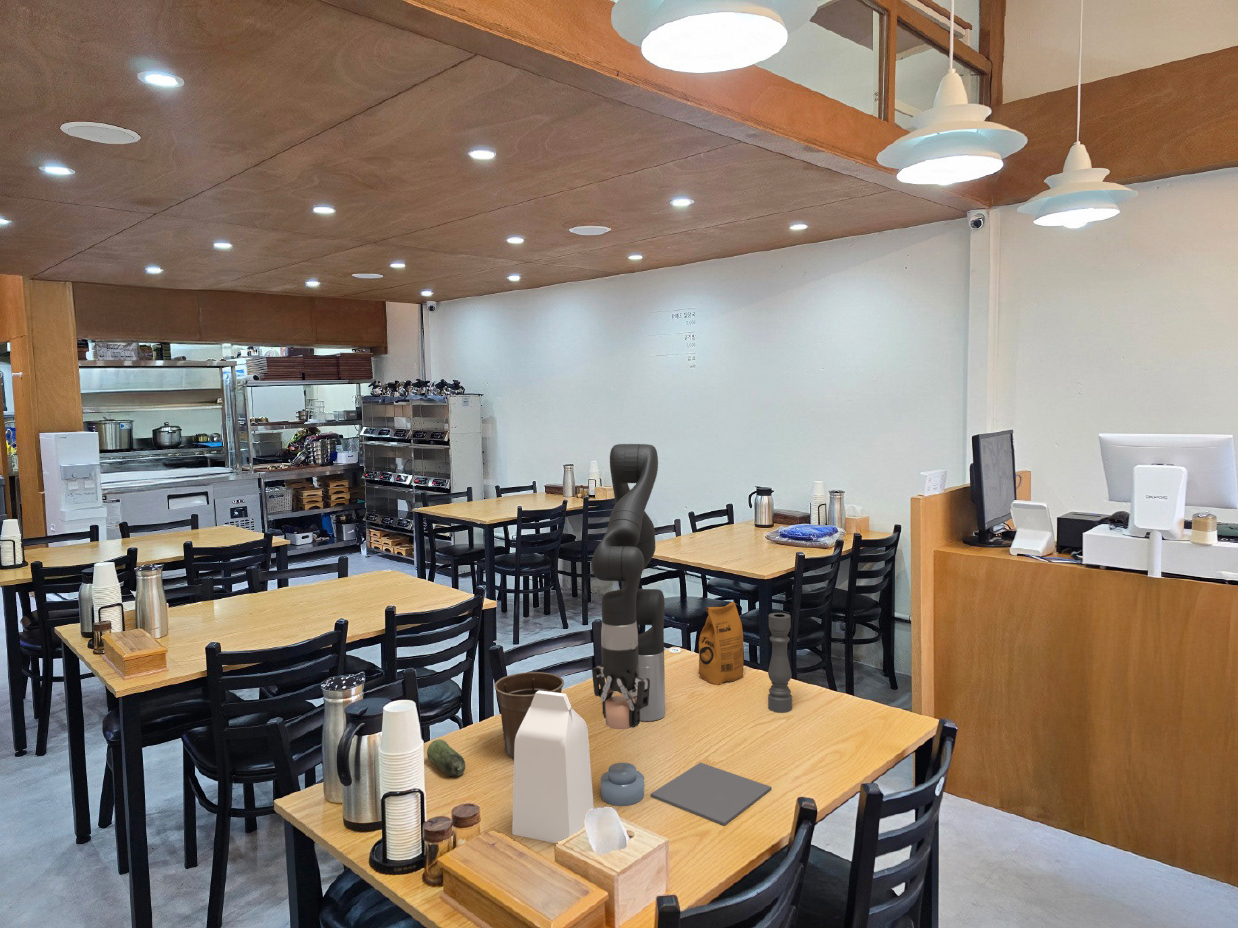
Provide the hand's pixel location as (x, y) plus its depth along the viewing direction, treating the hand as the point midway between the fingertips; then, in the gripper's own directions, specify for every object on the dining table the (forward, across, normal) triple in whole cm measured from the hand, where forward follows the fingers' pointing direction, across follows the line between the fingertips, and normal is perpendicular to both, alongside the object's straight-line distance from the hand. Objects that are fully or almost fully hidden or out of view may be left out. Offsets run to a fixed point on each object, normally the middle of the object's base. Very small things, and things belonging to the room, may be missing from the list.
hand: (621, 721), depth 158 cm
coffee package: (+16, -22, +71) cm, 76 cm away
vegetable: (+16, -39, -16) cm, 45 cm away
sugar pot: (+16, 0, 0) cm, 16 cm away
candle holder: (+16, +3, +61) cm, 63 cm away
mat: (+16, +14, +12) cm, 24 cm away
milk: (+16, -3, -17) cm, 23 cm away
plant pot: (+16, -31, +3) cm, 35 cm away
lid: (0, 0, 0) cm, 0 cm away
